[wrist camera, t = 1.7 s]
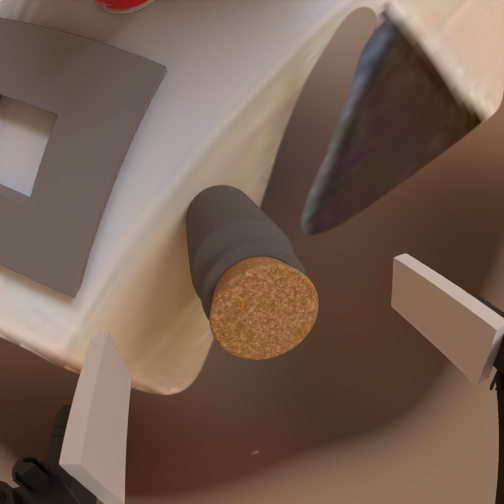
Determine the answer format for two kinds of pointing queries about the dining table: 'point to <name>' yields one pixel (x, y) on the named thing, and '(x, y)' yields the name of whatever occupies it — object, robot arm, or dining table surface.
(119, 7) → the pill bottle
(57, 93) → the hole plate
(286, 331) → the bottle
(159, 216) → the dining table surface
